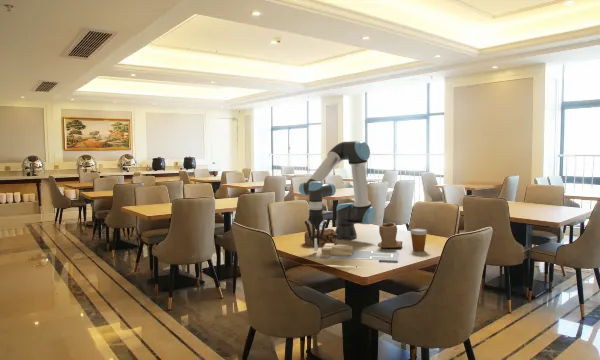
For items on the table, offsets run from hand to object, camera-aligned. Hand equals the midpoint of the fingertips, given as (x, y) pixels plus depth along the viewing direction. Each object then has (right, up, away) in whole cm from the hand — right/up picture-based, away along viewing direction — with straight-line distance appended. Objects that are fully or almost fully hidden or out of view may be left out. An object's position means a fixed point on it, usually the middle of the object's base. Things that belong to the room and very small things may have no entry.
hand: (316, 250), depth 244 cm
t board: (+23, -3, -5) cm, 24 cm away
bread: (+4, -1, +23) cm, 24 cm away
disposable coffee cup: (+60, -1, +7) cm, 60 cm away
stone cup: (+45, -1, +15) cm, 47 cm away
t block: (+12, -1, -3) cm, 12 cm away
